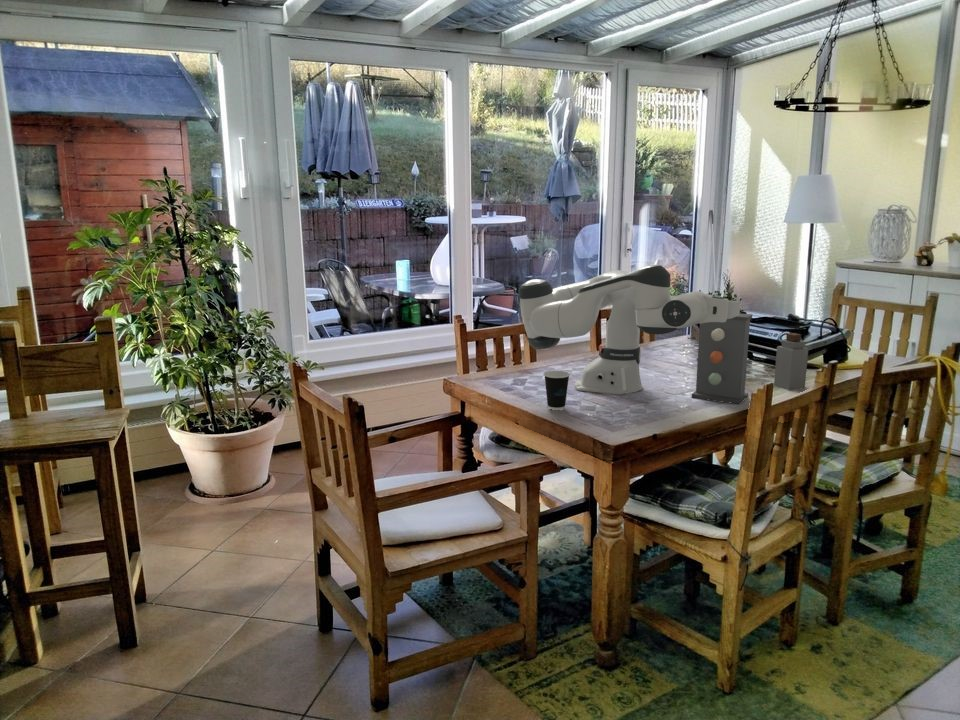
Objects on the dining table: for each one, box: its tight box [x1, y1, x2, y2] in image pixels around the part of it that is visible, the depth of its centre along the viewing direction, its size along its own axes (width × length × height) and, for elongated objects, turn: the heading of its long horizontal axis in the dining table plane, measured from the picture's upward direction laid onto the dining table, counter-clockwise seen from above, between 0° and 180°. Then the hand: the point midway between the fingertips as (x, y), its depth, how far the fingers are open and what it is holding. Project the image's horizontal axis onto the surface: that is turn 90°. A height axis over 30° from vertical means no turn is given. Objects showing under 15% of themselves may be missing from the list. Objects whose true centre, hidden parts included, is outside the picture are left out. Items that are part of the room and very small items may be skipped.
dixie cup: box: [543, 370, 571, 411], centre depth 224 cm, size 8×8×11 cm
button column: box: [691, 312, 753, 404], centre depth 231 cm, size 15×10×27 cm, turn 56°
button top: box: [711, 328, 725, 341], centre depth 225 cm, size 4×3×4 cm
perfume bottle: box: [773, 332, 809, 391], centre depth 244 cm, size 7×7×18 cm
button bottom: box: [708, 373, 722, 385], centre depth 228 cm, size 4×3×4 cm
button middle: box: [710, 351, 723, 363], centre depth 227 cm, size 4×3×4 cm
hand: (709, 303), depth 213 cm, fingers open, 8 cm apart
